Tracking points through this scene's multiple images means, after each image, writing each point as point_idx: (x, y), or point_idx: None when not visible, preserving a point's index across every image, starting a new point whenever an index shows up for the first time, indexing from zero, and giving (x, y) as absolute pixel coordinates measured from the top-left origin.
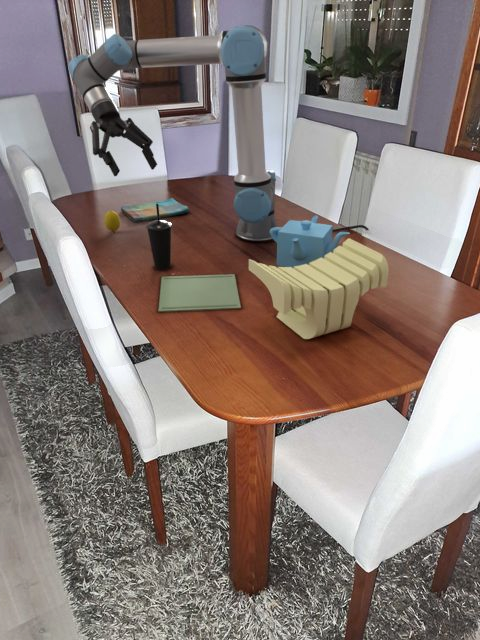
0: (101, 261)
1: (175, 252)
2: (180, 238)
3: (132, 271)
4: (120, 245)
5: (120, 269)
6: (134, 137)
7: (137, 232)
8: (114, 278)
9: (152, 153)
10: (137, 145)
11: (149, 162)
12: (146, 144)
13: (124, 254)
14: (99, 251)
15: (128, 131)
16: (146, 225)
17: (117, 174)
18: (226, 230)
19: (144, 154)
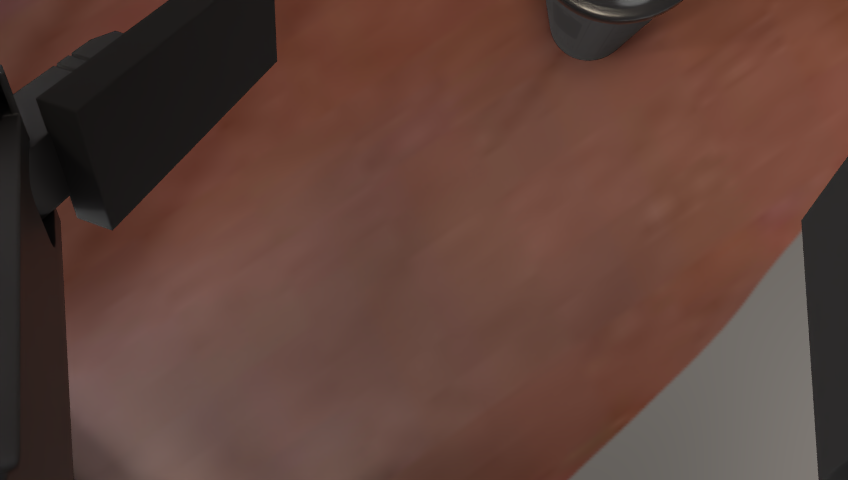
0: (661, 354)
1: (388, 76)
2: (208, 163)
3: (702, 130)
4: (430, 396)
5: (708, 201)
6: (28, 324)
7: (231, 423)
8: (820, 159)
9: (93, 47)
10: (64, 308)
11: (232, 76)
12: (11, 120)
13: (528, 302)
14: (550, 447)
15: (7, 472)
16: (673, 3)
17: (824, 193)
18: (4, 5)
19: (153, 167)
